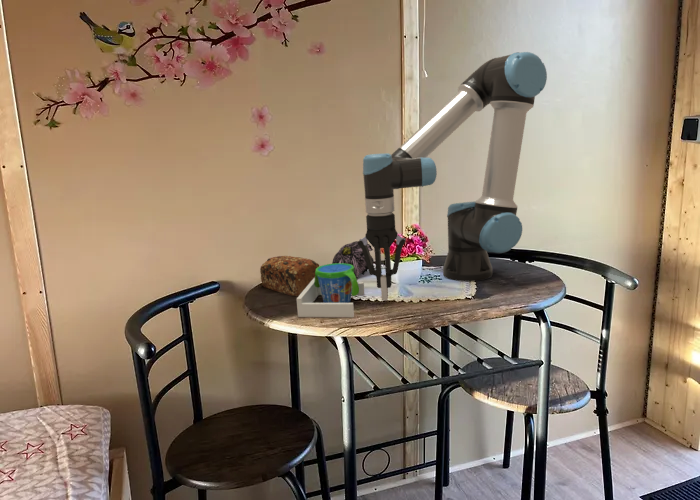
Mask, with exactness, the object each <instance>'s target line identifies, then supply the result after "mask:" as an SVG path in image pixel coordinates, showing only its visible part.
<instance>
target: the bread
mask: <svg viewBox="0 0 700 500" xmlns="http://www.w3.org/2000/svg"><path fill="white" fill-rule="evenodd" d="M318 267H320V264H319V263H318V262H316V261H315V260H313V259H310V258H305V257H299V256H298V257H297V256H291V255H289V256H288V255H279V256H272V257H269V258H267V260H266V261H265V262H264V263H262V265H260V268H259V272H260V280H261V281H260V282H261V285H262V287H263V288H264V289H265V288H266V289H269V290H272V291H275V292H278V293H281V294H284V295H288V296H294V297H298V296H299V295H300V294H301V293H302V292H303V290H304V289H305V288H306V287H307V286H308V284H309V283H310V282H311V281H312V280H313V278H315V271H316V268H318Z"/></svg>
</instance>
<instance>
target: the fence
mask: <svg viewBox="0 0 700 500" xmlns="http://www.w3.org/2000/svg"><path fill="white" fill-rule="evenodd" d="M314 280H315V278H313V280H312V281H311V282H310V283H309V284H308V286H307V287H306V288H305V289H304V290H303V292H302V293H301V294H300V295H299V296H297V297H296V308H297V317H298V318H354V317H355V307H354V302H349V303H324V302H315V300H316V299H317V297H319V296H322V293H321V289H320V287H318V288H317V287H315V284H314ZM357 282H358V281H357ZM364 283H365V282H363V281H362V282H361V281H359V282H358V286H359V293H358V294H357V295H356V296H365V284H364ZM351 293H352V292H351Z"/></svg>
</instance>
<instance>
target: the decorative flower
mask: <svg viewBox="0 0 700 500" xmlns="http://www.w3.org/2000/svg"><path fill="white" fill-rule="evenodd" d="M358 241H359V240H357V241H353V242H350V243H347V244H346V243H345V244H344V245H342V246H341V247H340V249H339V250H338V251H337V252H336V253H335V255H334V256H333V259H332V261H331V264H335V263H345V264H351V265H353V266H354V274H355V276H356V279H357V280H358V279H359V277H360V274H361V275H363V276H364V275H365V273H367V272H368V271H369V270H368V267H367V264H366V261H365V257H364V254H363V251H362V249H361V247H360V246H359V245H358ZM367 246H368V249H369V252H371V251H374V248H373V247H372V245H371V244H370V243H368V244H367ZM370 256H371V259H372V262H373V263H374V261H375V259H374V258H373V256H372V255H371V254H370Z"/></svg>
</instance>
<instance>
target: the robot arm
mask: <svg viewBox="0 0 700 500" xmlns="http://www.w3.org/2000/svg"><path fill="white" fill-rule="evenodd" d="M547 75H548V73H547V68H546V66H545V63H544V62H543V61H542V59H541V57H539V55H537V54H535V53H534V52H529V51H523V52H514V53H512V54H508V55H503V56H500V57H499V56H498V57H494V58H492V59H489V60H487V61H485V62H484V63H482V64H481V65H480V66H479V67H478V68H477V69H476V70H475V71H474V72H472V73H471V74H470V75H469V76H468V77H467V78H466V79H465V80H464V81H463V82H462V83H461V84H460V85H459V86H458V87H457V92H456V94H454V95H453V96H452V97H451V98H450V99H449V100H448V101H447V102H445V104H444V105H442V106H441V107H440V109H438V110H437V111H436V112H435V113H434V114H433V115H432V116H431V117H430V118H429V119H428V120H427V121H425V123H424V124H423V125H421V127H419V128H418V129H417V130H416V131H415V132H414V133H413V134H412V135H411V136H410V137H409V138H408V139H407V140H406V141H405V142H403V144H402V145H400V147H398V148H397V149H396V150H395V151H394V152H393V153H392V154H391V153H373V154H372V153H370V154H366V155H365V156H364V157H363V159H362V162H363V163H362V175H363V185H364V201H365V203H364V205H365V213H366V214H367V215H366V216H365V218H366V219H365V220H366V233H365V236H364V237H362V238H360V239H359V240H357V241H358V245H359V246H360V247H361V249H362V251H363V254H364V257H365V261H366V264H367V267H368V270H367V271H368V273H369V275H370V276H375V277H376V287H377V288H378V289H380V291H381V292H380V295H381V301H385V302H386V301H388V299H389V289H390V288H391V287H392V283H393V282H392V277H393V276H395V275H396V274H397V273H398V269H399V265H400V261H401V255H402V250H403V247H404V245H405V243H406V241H407V239H406V237H402V236H400V235H398V232H397V229H396V218H395V217H396V216H395V213H394V212H395V197H394V196H395V195H394V190H400V189H408V188H419V187H421V188H423V187H426V186H431V185H433V184H435V182H436V179H437V173H438V172H437V166H436V163H435V161H434V160H433V159H432V158H431V157H428V156H430V155H431V154H432V153H433V152H434V151H435V150H436V149H437V148H438V147H439V146H440V145H441V144H443V143H444V142H445V141H446V139H448V138H449V137H450V136H451V135H452V134H453V133H455V131H456V130H457V129H458V128H459V127H460V126H462V124H464V123H465V122H466V121H467V120H468V119H469V118H470V117H471V116H472V115H473V114H474V113H475V112H481V111H483V109H485V107H487V106H488V105H491V107H492V108H493V111H494V113H493V117H492V118H493V119H492V125H491V130H490V131H491V132H490V138H489V146H488V151H487V158H486V167H485V172H484V180H483V186H482V193H481V196H480V197H479V198H478V199H477V200H475V201H465V202H456V203H455V202H454V203H451V204H449V205H448V208H447V214H446V217H447V244H448V246H447V247H448V249H447V251H448V252H447V255H446V258H445V261H444V264H443V267H442V268H443V269H442V276H443V277H444V278H446V279H449V280H451V281H460V282H474V281H475V282H476V281H477V282H478V281H484V280H487V279H489V278H492V276H493V266H492V263H491V260H490V257H489V254H488V253H495V254H502V253H507V252H509V251H511V249H513V248H514V247H516V245H517V244H518V243H519V241H520V239H521V238H522V234H523V224H522V222H521V221H520V218H519V217H518V216H517V214H518V213H517V212H518V205H517V204H516V202H515V201H514V197H515V189H516V182H517V176H518V170H519V163H520V156H521V151H522V144H523V140H524V139H523V138H524V132H525V131H524V130H525V125H526V119H527V113H528V112H529V111H530V110H532V108H534V105H535V98H536V96H538V95H539V94H540V93H541V92H542V91H543V90H544V89H545V86H546V84H547V80H548V76H547ZM395 241H396V245H397V247H396V252H395V257H394V261H393V267H392V262H391V246H392V245H393V243H394V242H395ZM367 244H369V245H370V246H371V247H372V248H373V251H374V261H375V265H374V262H372V259H371V256H372V255H371V253H370V252H371V251H369V249H368V246H367ZM381 249H383V252H384V253H383V254H384V269H385V274H382V272H383V271H382V255H381V253H382V252H381ZM370 255H371V256H370Z"/></svg>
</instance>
